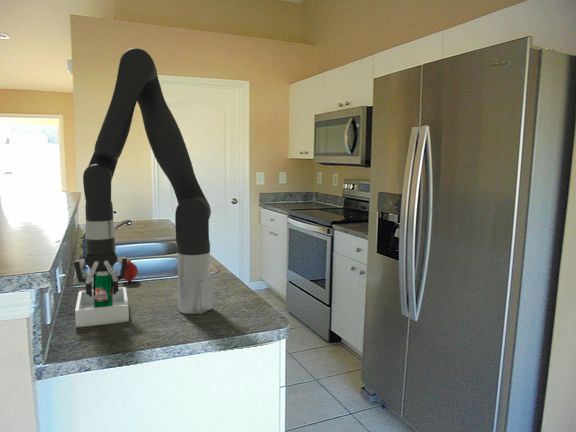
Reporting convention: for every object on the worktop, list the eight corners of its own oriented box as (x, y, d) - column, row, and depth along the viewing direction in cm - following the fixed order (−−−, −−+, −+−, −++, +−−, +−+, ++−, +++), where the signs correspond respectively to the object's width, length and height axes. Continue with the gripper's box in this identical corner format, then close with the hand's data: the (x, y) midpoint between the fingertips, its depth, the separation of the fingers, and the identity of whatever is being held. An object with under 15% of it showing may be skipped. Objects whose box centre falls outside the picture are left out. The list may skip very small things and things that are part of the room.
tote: (126, 301, 138) (125, 287, 137) (128, 321, 121) (128, 305, 120) (79, 305, 133) (79, 291, 132) (75, 327, 116) (75, 310, 116)
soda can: (90, 312, 125) (89, 271, 123) (100, 306, 130) (99, 266, 128) (106, 314, 124) (106, 273, 122) (116, 308, 129) (116, 268, 127)
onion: (132, 284, 155) (131, 262, 154) (117, 283, 156) (116, 261, 155) (140, 280, 161) (140, 258, 160) (126, 279, 162) (125, 257, 161)
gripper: (127, 232, 130) (128, 288, 132) (72, 235, 125) (75, 293, 127) (128, 237, 123) (130, 296, 125) (70, 239, 118) (73, 301, 120)
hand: (102, 294), depth 126 cm, fingers open, 5 cm apart
